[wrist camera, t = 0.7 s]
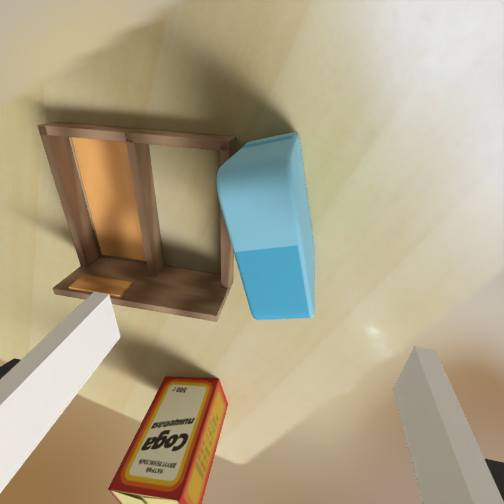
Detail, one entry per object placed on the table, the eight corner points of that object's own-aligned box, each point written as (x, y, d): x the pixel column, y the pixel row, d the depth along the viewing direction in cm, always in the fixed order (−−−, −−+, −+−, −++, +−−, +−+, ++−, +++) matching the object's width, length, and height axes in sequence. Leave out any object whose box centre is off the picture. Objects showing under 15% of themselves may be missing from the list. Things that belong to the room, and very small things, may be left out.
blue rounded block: (249, 139, 26) (210, 173, 16) (298, 128, 25) (289, 158, 15) (273, 251, 32) (254, 329, 22) (314, 247, 31) (315, 327, 21)
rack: (95, 260, 37) (54, 294, 32) (57, 122, 29) (-9, 131, 23) (233, 281, 35) (216, 321, 29) (235, 136, 27) (213, 151, 21)
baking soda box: (218, 378, 45) (178, 505, 32) (228, 404, 48) (194, 529, 35) (165, 376, 48) (106, 493, 34) (177, 401, 51) (127, 517, 37)
